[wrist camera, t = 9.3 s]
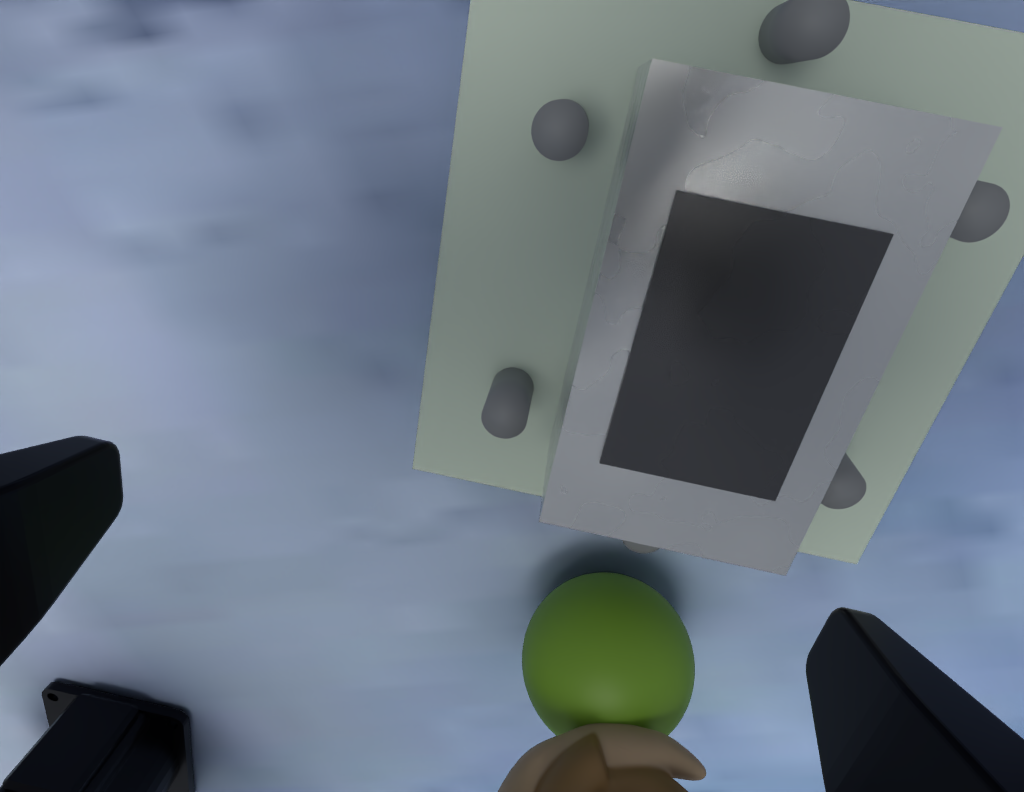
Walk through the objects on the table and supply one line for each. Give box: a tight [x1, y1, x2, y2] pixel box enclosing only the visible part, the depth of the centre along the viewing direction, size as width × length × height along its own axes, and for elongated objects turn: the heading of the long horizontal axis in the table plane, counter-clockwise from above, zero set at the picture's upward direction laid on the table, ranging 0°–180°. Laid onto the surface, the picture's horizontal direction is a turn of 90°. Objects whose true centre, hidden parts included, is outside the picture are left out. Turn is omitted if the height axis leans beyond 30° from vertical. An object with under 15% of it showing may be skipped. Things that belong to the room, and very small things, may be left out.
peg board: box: [412, 0, 1024, 564], centre depth 16 cm, size 14×14×3 cm
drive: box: [539, 58, 1003, 576], centre depth 15 cm, size 10×6×4 cm, turn 170°
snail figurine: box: [498, 572, 706, 792], centre depth 17 cm, size 5×6×12 cm
